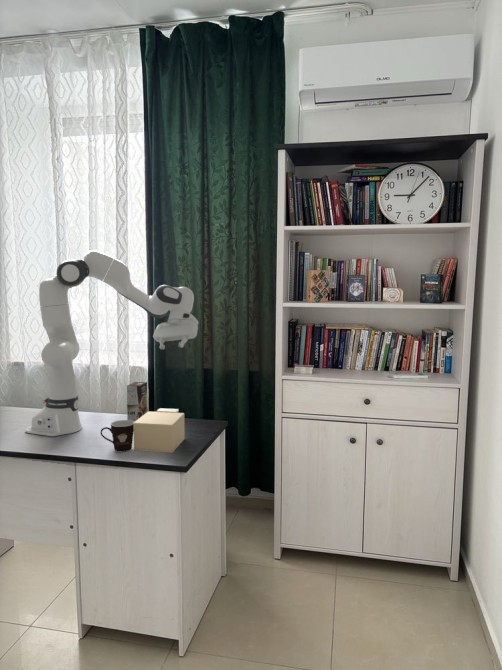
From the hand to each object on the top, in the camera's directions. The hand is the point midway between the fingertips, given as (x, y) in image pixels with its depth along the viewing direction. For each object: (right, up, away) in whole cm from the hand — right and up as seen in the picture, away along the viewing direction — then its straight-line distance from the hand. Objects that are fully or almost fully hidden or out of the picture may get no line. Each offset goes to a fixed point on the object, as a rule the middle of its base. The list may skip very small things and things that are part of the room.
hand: (171, 347), depth 213 cm
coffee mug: (-16, -38, -21) cm, 46 cm away
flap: (-1, -27, -15) cm, 31 cm away
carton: (-2, -37, -16) cm, 40 cm away
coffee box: (-18, -33, +20) cm, 43 cm away
